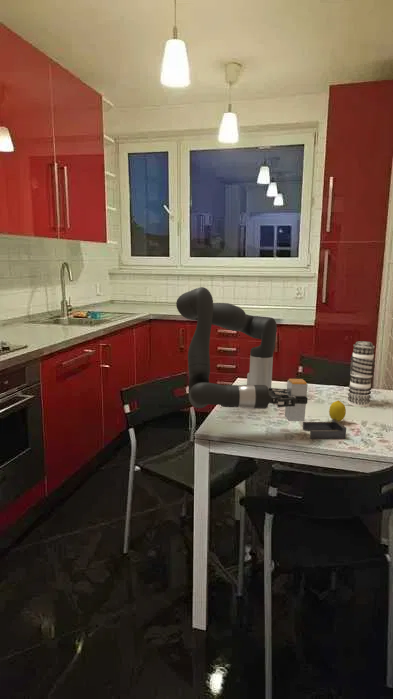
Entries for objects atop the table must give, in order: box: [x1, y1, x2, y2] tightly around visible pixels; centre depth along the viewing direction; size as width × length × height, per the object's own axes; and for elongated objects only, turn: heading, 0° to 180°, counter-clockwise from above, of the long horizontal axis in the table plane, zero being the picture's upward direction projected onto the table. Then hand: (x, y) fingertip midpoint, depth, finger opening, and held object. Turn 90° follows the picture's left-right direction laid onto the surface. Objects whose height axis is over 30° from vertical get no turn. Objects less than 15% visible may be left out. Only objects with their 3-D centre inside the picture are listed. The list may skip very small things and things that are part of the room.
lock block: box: [284, 378, 309, 422], centre depth 145 cm, size 5×5×13 cm
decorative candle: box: [347, 340, 376, 408], centre depth 180 cm, size 9×9×25 cm
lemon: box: [328, 400, 347, 422], centre depth 159 cm, size 6×6×8 cm
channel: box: [301, 419, 347, 440], centre depth 148 cm, size 11×9×4 cm
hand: (304, 397), depth 145 cm, fingers closed on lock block, 5 cm apart
